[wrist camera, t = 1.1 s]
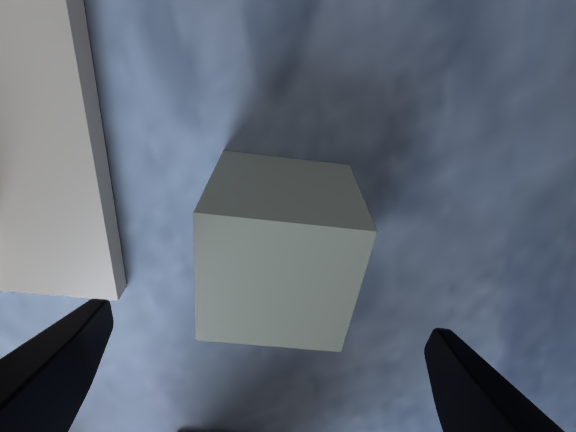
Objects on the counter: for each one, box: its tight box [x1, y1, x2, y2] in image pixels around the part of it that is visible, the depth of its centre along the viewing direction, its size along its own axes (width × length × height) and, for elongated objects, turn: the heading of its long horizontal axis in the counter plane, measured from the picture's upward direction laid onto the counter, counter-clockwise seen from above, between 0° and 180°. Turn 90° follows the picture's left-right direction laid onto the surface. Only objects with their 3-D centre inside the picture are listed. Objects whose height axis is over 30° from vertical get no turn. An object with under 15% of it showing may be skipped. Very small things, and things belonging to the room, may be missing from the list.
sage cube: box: [193, 150, 377, 352], centre depth 13 cm, size 5×5×5 cm
